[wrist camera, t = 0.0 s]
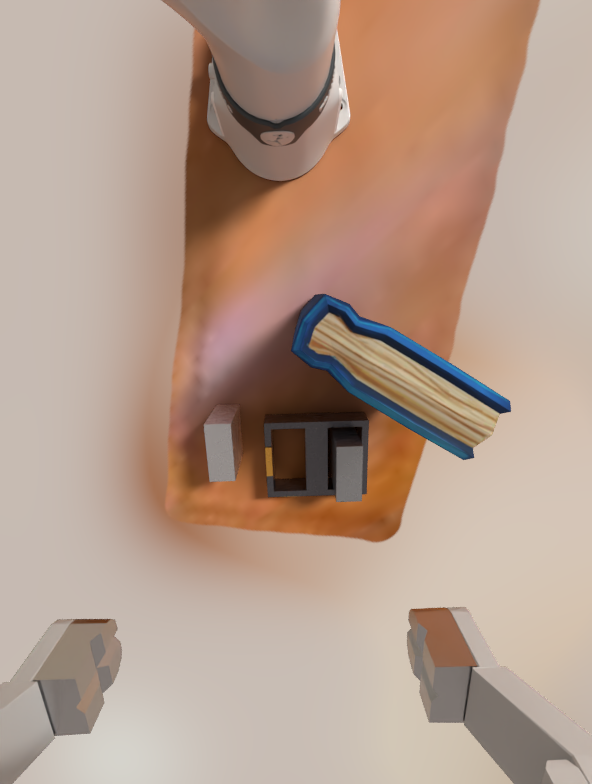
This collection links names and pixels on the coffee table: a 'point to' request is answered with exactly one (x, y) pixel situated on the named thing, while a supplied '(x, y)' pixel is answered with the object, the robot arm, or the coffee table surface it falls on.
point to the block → (224, 442)
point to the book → (397, 376)
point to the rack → (323, 455)
